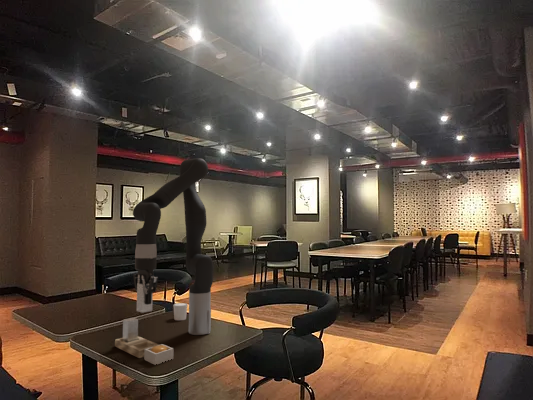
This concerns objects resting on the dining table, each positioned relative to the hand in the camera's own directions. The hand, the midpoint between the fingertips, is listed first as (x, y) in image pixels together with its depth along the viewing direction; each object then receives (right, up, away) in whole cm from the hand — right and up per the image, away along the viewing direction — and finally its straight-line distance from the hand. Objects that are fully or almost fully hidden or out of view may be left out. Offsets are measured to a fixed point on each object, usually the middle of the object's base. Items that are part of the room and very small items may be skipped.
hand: (144, 303), depth 129 cm
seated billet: (-8, -18, +5) cm, 20 cm away
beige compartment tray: (-4, -18, +2) cm, 18 cm away
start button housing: (+8, -17, -8) cm, 20 cm away
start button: (+8, -16, -8) cm, 19 cm away
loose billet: (0, -3, 0) cm, 3 cm away
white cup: (+2, -21, +44) cm, 48 cm away
